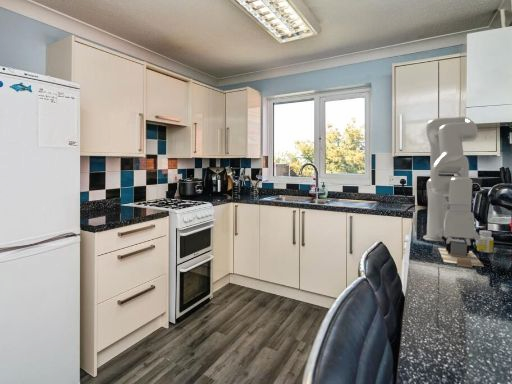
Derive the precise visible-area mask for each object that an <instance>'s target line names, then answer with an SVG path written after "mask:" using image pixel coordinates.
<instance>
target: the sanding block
mask: <svg viewBox="0 0 512 384" xmlns="http://www.w3.org/2000/svg"><path fill="white" fill-rule="evenodd" d="M450 244H451V251H450V254H451V256H460V257H467V244H466V241H465V239H457V238H456V239H455V238H452V239H451V240H450Z"/></svg>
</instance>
